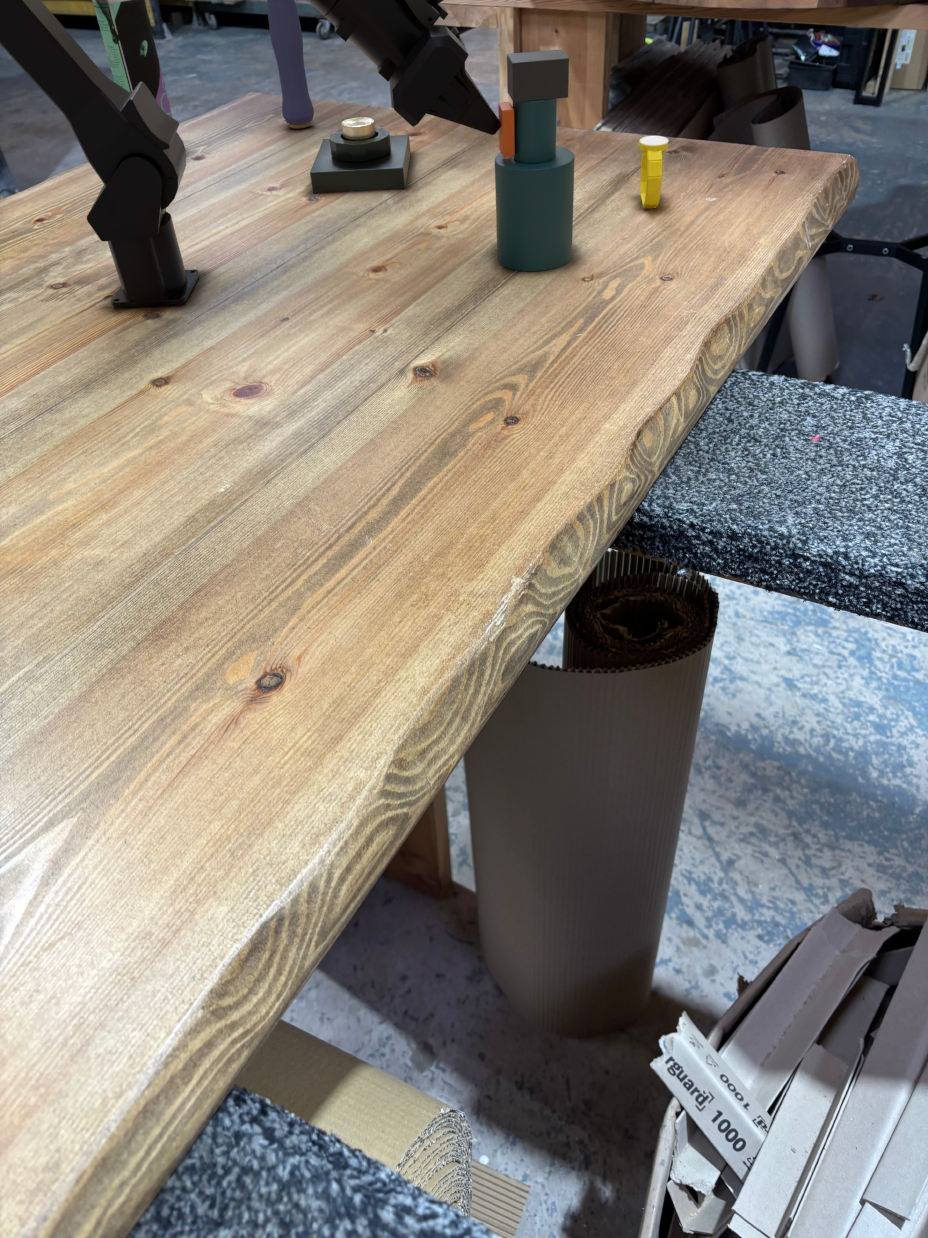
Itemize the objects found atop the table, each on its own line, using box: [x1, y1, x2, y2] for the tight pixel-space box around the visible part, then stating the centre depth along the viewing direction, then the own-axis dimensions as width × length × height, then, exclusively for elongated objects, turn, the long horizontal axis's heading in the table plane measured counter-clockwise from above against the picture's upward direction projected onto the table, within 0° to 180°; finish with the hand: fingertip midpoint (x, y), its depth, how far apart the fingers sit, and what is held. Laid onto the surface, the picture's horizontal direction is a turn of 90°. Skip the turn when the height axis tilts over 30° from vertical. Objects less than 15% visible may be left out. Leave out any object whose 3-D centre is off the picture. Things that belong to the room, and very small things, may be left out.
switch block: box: [309, 126, 411, 195], centre depth 103 cm, size 12×10×4 cm
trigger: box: [497, 101, 515, 158], centre depth 78 cm, size 1×2×4 cm, turn 6°
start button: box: [340, 116, 376, 141], centre depth 102 cm, size 4×4×2 cm
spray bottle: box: [494, 48, 576, 272], centre depth 80 cm, size 7×7×16 cm
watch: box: [638, 135, 669, 209], centre depth 91 cm, size 6×3×6 cm, turn 178°
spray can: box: [91, 0, 174, 119], centre depth 106 cm, size 6×6×20 cm
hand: (497, 128), depth 77 cm, fingers closed, pressing on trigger
